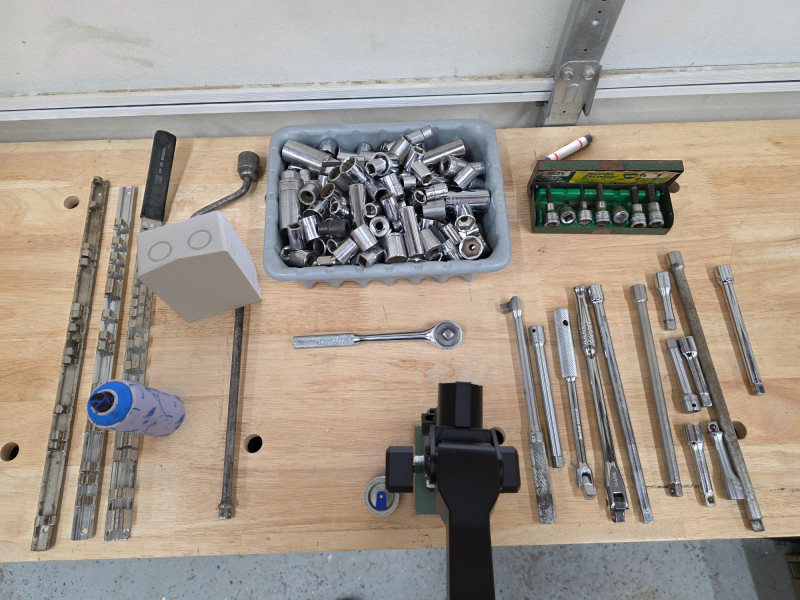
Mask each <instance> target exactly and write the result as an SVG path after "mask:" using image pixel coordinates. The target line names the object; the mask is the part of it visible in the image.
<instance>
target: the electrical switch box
mask: <svg viewBox="0 0 800 600" xmlns="http://www.w3.org/2000/svg"><path fill="white" fill-rule="evenodd" d="M136 254H137V255H136V256H137V278H138V280H139V281H140V282H141V283H142V284H144V285H145V286H146V287H147V288H148V289H149V290H150V291H151V292H153V294H155V295H156V297H158V298H159V299H160V300H161V301H163V302H164V303H165V304H166V305H167V306H168V307H169V308H170V309H171V310H173V312H175V313H176V314H177V315H178V316H180V318H182V319H183V320H184V321H185V322H186V323H188V324H192V323H195V322H198V321H201V320H204V319H209V318H211V317H214V316H217V315H220V314H224V313H227V312H230V311H231V312H232V311H233V310H237V309H239V308H240V309H241V308H243V307H246V306H249V305H253V304H256V303H259V302H262V301H263V297H262V294H261V288H260V285H259V279H258V273H257V269H256V264H255V262H254V260H253V258H252V255H251V254H250V252H249V250H248V249H247V247H246V246H245V244H244V242H243V241H242V239H241V238H240V236H239V235H238V233H237V231H236V230H235V228H234V226H233V225H232V223H231V222H230V220H229V219H228V218H227V216H225V215H224V214H223V213H222V211H220V210H214V211H213V210H212V211H210V212H207V213H203V214H200V215H199V214H198V215H196V216H192V217H188V218H186V219H182V220H179V221H176V222H172V223H169V224H165V225H162V226H157V227H155V228H151V229H148V230H144V231H141V232H139V233H137V235H136Z"/></svg>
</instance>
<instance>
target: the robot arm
mask: <svg viewBox="0 0 800 600" xmlns="http://www.w3.org/2000/svg"><path fill="white" fill-rule="evenodd" d="M436 403H437V406H435V407H429V409H426V412H422V413H420V426H421V435H422V436H425V442H424V456H415V455H414V445H389V446H388V447H387V448H386V449H385V467H384V469H385V470H384V471H385V473H384V476H385V489H386V490H387V491H388V492H389V493H401V494H414V474H416V473H425V476H426V489H427V490H428V491H430V492H435V509H436V511H437V512H438V514H437V515H439V517H440V519H441V521H442V522H443V524H444V526H445V568H446V569H445V578H446V581H445V585H446V587H445V589H446V592H445V595H446V596H445V598H446V599H445V600H497V599H496V588H495V573H494V562H493V561H494V559H493V547H492V534H491V533H492V532H491V518H492V516H493V514H494V511H495V509H496V506H497V502H498V500H499V497H500V494H518V493H519V492H520V490H521V489H522V480H521V469H520V457H519V452H518V450H517V448H516V447H515V446H514V445H500V443H499V440H498V435H497V432H496V429H495V428H484V385H479V384H477V383H472V381H458V380H455V382H438V384H437V402H436ZM415 461H416V463H418V461H419V463H421V461H422V463H423V462H424V465H415Z"/></svg>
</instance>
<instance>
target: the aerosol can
mask: <svg viewBox="0 0 800 600" xmlns="http://www.w3.org/2000/svg"><path fill="white" fill-rule="evenodd" d="M85 413H86V417H87V419H88V420H89V422H90V423H91V424H92V425H93V426H94V427H96V428H98V429H100V430H104V431H105V430H106V431H110V432H111V431H112V432H119V433H126V434H127V433H129V434H136V435H145V436H152V437H159V438H160V437H166V436H169V435H171V434H174V433H175V432H176V431H177V430H178V429H179V428H180V427H181V425H182V423H183V422H184V419H185V415H186V408H185V404H184V402H183V400H182V399H181V398H180V397H178V396H177V395H175V394H172V393H169V392H166V391H163V390H160V389H156V388H153V387H151V386H146V385H143V384H139V383H137V382H133V381H130V380H127V379H121V378H115V379H109V380H106V381H104V382H102V383H100V384H98V386H96V387H95V388H94V389H93V391H92V392H91V393H90V395H89V397H88V399H87V401H86V407H85Z"/></svg>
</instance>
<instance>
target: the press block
mask: <svg viewBox="0 0 800 600" xmlns="http://www.w3.org/2000/svg"><path fill="white" fill-rule="evenodd" d="M424 442H425V436H422V435H421V425H415V426H414V454H415V455H414V456H424ZM414 465H424V462H423V463H422V461H421V463H419V461H418V463H416V461H415V463H414ZM415 515H439V514H438V512H437V511H436V509H435V492H430V491H428V490H427V489H426V476H425V473H415Z"/></svg>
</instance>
